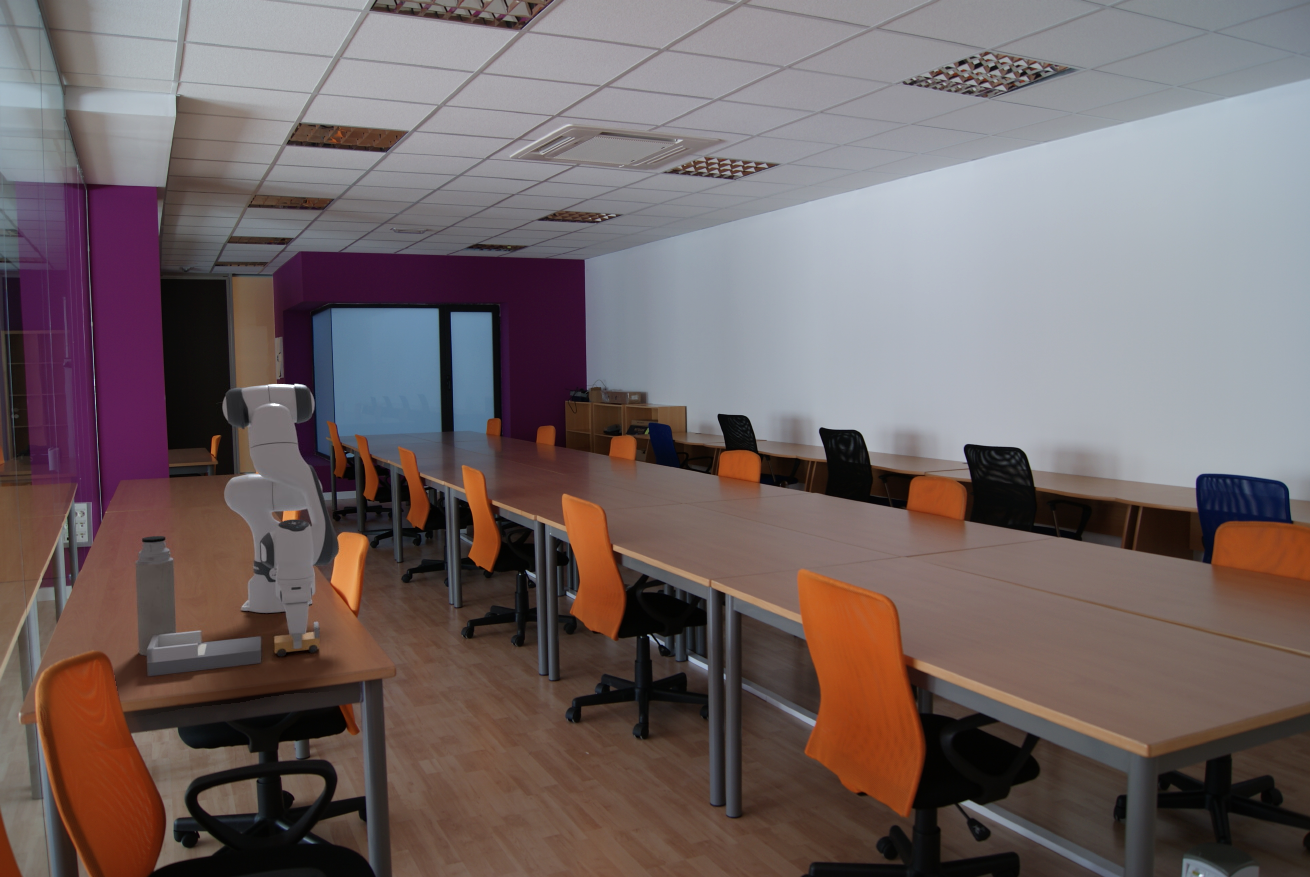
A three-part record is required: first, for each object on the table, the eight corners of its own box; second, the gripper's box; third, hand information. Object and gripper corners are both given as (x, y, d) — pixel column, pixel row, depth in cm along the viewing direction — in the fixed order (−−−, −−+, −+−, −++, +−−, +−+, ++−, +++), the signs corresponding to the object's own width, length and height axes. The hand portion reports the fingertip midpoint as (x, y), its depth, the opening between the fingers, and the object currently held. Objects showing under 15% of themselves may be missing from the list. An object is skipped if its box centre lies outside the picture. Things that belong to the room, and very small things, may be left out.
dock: (154, 660, 204) (153, 635, 203) (261, 648, 213) (260, 624, 213) (147, 676, 193) (146, 649, 192) (261, 662, 202) (260, 637, 202)
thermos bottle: (150, 645, 215) (146, 534, 213) (182, 645, 215) (179, 534, 213) (132, 655, 207) (127, 540, 205) (165, 655, 207) (161, 540, 205)
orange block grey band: (274, 650, 212) (274, 626, 211) (318, 645, 216) (317, 621, 215) (274, 657, 206) (274, 632, 206) (319, 652, 210) (319, 627, 210)
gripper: (280, 579, 218) (282, 633, 219) (282, 598, 199) (283, 657, 200) (307, 577, 221) (309, 630, 222) (311, 595, 202) (312, 653, 203)
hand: (296, 643), depth 211 cm, fingers closed on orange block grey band, 6 cm apart
